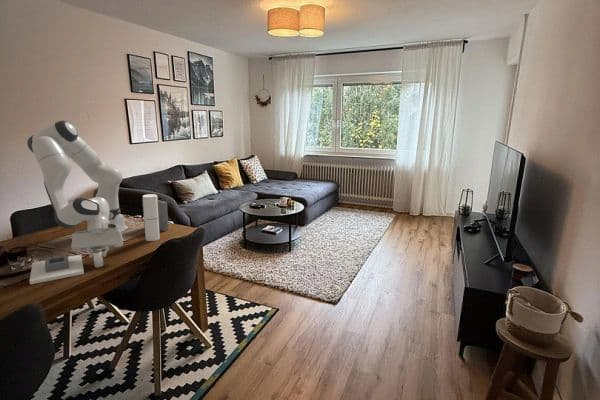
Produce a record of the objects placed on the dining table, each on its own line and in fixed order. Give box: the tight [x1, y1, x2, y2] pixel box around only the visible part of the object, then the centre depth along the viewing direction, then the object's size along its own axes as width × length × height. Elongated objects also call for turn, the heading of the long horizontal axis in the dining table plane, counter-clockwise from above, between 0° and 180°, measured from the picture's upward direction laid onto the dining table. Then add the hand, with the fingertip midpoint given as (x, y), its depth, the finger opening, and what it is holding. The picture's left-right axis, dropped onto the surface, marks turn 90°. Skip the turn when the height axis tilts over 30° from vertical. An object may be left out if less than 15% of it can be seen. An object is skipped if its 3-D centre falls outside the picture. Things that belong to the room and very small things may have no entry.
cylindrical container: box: [142, 193, 160, 242], centre depth 179 cm, size 7×7×25 cm
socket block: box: [29, 254, 85, 285], centre depth 141 cm, size 20×18×4 cm
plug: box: [92, 248, 104, 268], centre depth 147 cm, size 4×4×8 cm
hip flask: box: [142, 196, 169, 232], centre depth 197 cm, size 16×4×20 cm, turn 77°
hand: (97, 256), depth 146 cm, fingers closed on plug, 3 cm apart
